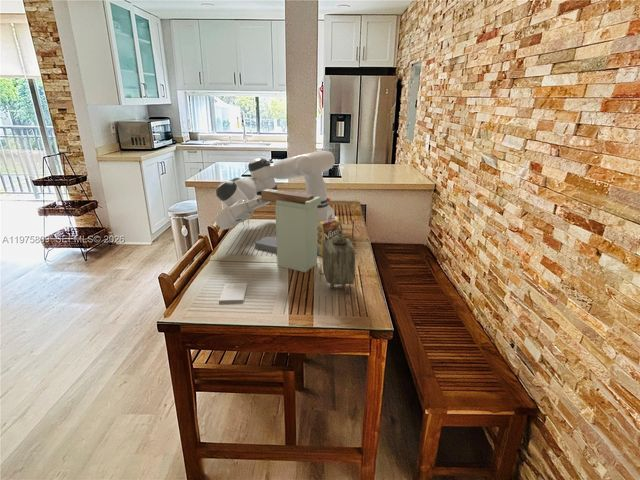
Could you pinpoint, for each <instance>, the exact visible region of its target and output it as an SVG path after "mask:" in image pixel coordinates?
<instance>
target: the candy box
mask: <svg viewBox="0 0 640 480" xmlns="http://www.w3.org/2000/svg"><path fill="white" fill-rule="evenodd" d="M338 222H340V221H339V219H338V220H337V219H334V218H333V219H328V220H323V221H318V228H317V255H319V256H320V257H323V242H324V241H326V240H328V239H333V238H334V236H335V235H338V229H337V224H338Z"/></svg>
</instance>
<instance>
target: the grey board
mask: <svg viewBox="0 0 640 480" xmlns="http://www.w3.org/2000/svg"><path fill="white" fill-rule="evenodd" d="M254 248H256V249H260V250H264V251H269V252H273V253H277V239H276V237H270V236H265V237H263V238H261V239H259V240H257V241H256V242H254Z"/></svg>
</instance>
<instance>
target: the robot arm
mask: <svg viewBox="0 0 640 480" xmlns="http://www.w3.org/2000/svg"><path fill="white" fill-rule="evenodd" d="M335 162H336V159H335V156H334V154H333V153H332V152H331V151H329V150H317V151H314V152H313V151H312V152H308V153H305V154H300V155H296V156H295V155H294V156H292V157H286V158H284V159H283V158H282V159H279V160H278V161H276V162H274V163H272V164H271V161H270V160H267V159H266V158H262V157H259V158H254V159H252V160H251V161H250V162H249V163H248V164H247V167H248V171H249V173H250V176H246V177H243V178H240V177H234V178H232V179H231V178H230V179H228V180H226V181H223V182H221V183H220V184H219V185H218V186H217V188H216V191H215V193H216V194H215V195H216V197H217V198H218V199H219V200H220V201H221V202H222V203H223V204H224V206H226V207H225V208H223V209H222V210H221V211H219V212H218V213H217V214H216V215H215V217H214V221H215V224H216V225H217V226H218V227H219V228H220V229H222V230H229V229H231V228H233V227H236V226H238V225H239V224H241V223H243V222H245V221H247V220H249V219H251V218H252V217H253V216H254V211H255V210H257V209H259V208H262V207H265V205H268V204H270V203H271V202H269V201H263V200H261V190H264V189H273V190H278V184H276V180H291V179H295V178H300V177H303V179H304V181H305V182H304V183H305V192H306V193H305V194H308V195H314V198H315V197H317V196H318V197H321V204H320V205H318V206H317V229H318V221H323V220H328V219H333V218H334V219H337V220H339V217H338V216H336V215H335V210H334V208H332V206H330V205H329V202H331V198H330V197H328V184H327V183H326V181H324V177H323V173H324V172H327V171H329V170H330V169H332V168H333V167H334V165H335ZM257 196H258V197H257Z"/></svg>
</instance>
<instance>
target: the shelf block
mask: <svg viewBox="0 0 640 480" xmlns="http://www.w3.org/2000/svg"><path fill="white" fill-rule="evenodd" d="M320 204H321V197H318V196H317V197H315V198H313V199H311V200H308V201H306V202H305V204H299V203H293V202H287V201H281V200H277V201H276V203H275V209H274V210H275V211H274V212H275V233H276V237H275V238H276V239H277V252H276V260H277V264H276V265H277V266H278V267H283V268H287V269H290V270H294V271H299V272H302V273H307V272H308V271H309V270H311V269H312V268H313V267H315V266H317V264H318V253H317V234H318V228H317V206H318V205H320Z"/></svg>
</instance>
